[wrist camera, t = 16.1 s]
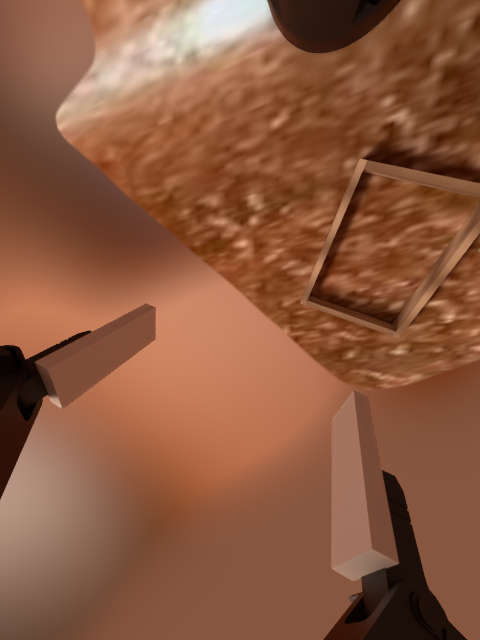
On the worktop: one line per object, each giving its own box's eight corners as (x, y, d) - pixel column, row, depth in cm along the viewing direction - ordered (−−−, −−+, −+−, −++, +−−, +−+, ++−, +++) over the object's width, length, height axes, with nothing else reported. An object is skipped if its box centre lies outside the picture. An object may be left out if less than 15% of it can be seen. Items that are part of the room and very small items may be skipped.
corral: (357, 162, 26) (359, 158, 24) (496, 191, 23) (512, 190, 21) (302, 297, 36) (300, 303, 34) (394, 330, 33) (398, 338, 31)
